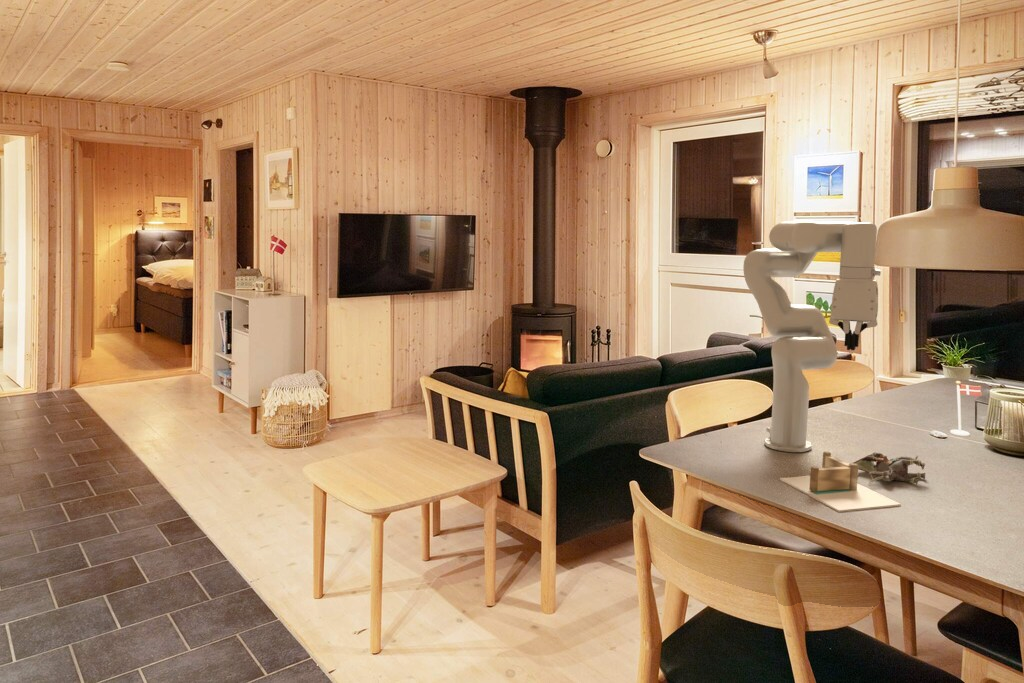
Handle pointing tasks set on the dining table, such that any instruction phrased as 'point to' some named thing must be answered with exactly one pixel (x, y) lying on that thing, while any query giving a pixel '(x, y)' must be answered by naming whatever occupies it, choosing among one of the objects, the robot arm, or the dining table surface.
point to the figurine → (890, 468)
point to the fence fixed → (835, 462)
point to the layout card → (842, 496)
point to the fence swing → (829, 478)
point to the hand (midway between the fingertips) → (851, 349)
